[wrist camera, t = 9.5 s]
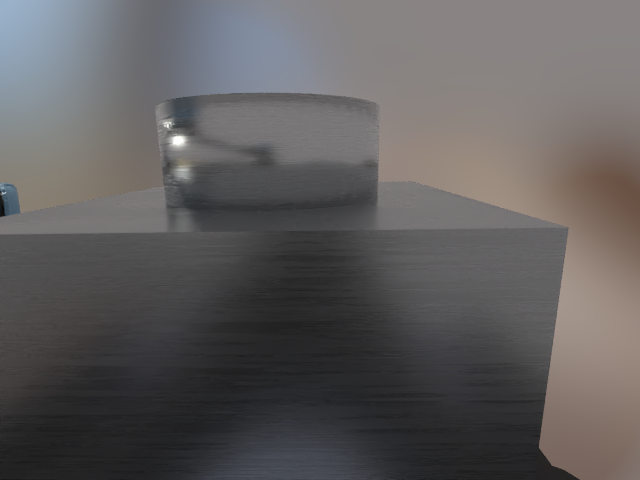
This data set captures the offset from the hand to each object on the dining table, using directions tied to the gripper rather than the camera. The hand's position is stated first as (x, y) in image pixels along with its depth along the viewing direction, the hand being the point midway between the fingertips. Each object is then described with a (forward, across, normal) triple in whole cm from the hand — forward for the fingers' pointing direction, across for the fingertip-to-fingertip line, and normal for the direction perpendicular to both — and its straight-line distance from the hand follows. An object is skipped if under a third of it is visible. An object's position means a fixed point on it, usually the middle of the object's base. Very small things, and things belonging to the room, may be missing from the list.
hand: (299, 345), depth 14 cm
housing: (-5, 0, -8) cm, 9 cm away
